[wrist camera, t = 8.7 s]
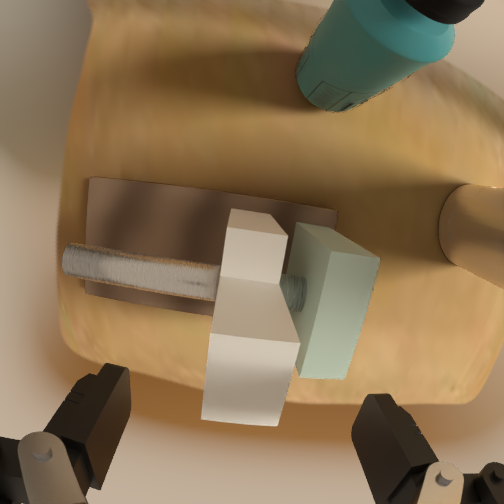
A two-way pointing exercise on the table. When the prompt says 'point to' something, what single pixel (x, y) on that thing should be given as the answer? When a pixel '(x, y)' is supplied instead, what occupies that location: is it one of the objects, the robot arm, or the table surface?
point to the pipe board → (177, 229)
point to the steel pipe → (161, 274)
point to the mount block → (330, 298)
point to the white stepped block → (250, 326)
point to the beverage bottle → (375, 47)
